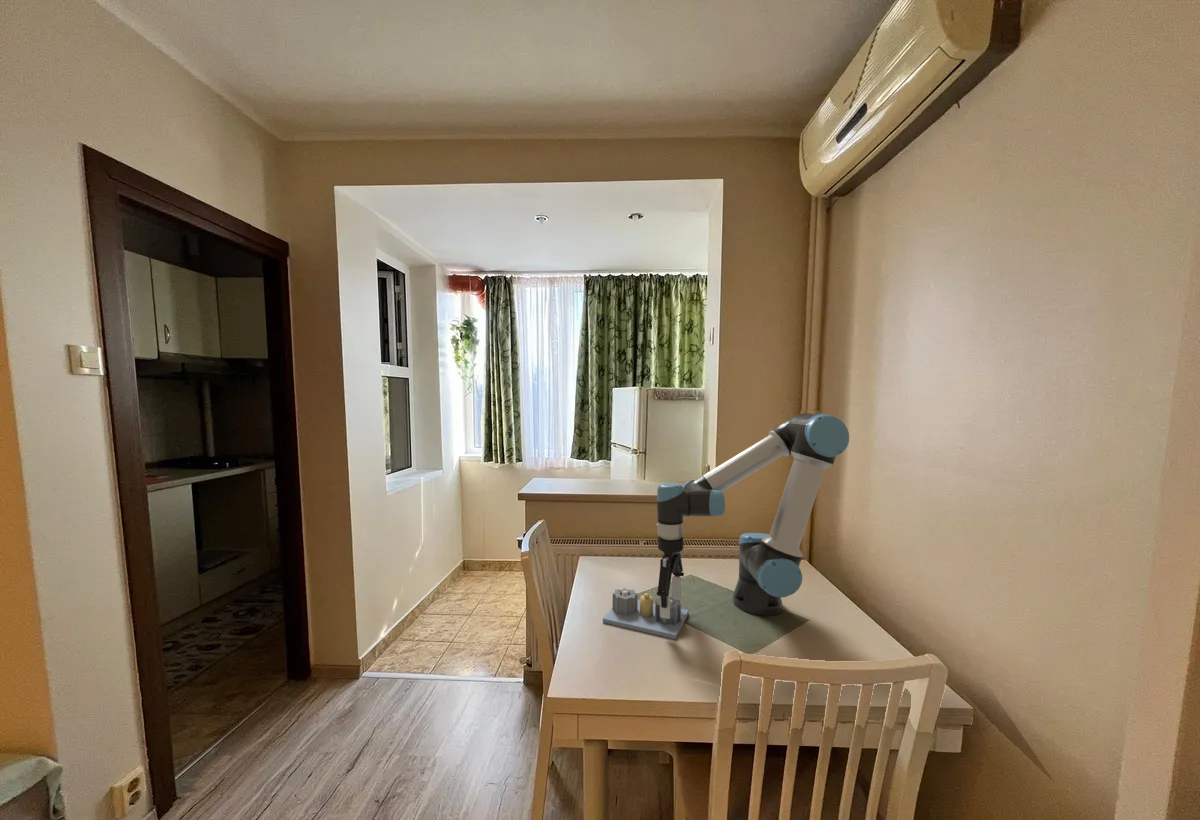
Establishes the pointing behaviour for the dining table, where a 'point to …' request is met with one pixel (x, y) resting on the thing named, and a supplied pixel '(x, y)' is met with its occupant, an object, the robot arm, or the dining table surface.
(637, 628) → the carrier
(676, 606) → the gear
